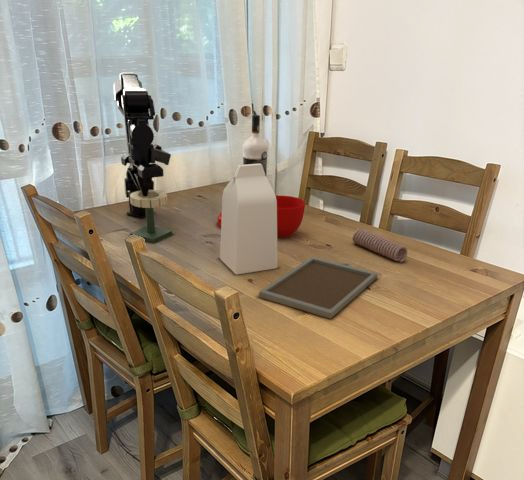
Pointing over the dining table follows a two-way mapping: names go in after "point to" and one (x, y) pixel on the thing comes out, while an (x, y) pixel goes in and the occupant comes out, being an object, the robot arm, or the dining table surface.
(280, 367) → the dining table surface
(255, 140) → the vodka
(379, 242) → the coil
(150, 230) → the peg stand
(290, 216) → the ceramic cup
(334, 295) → the grey picture frame
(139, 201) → the ring
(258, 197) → the milk
